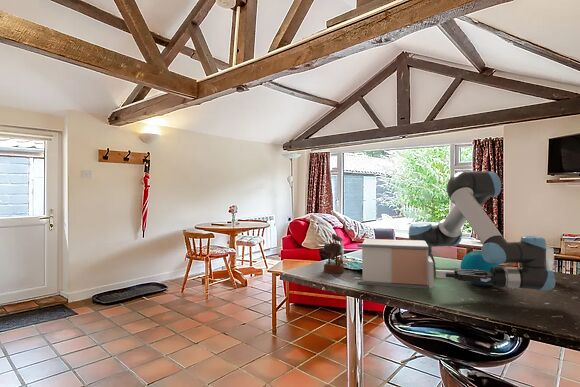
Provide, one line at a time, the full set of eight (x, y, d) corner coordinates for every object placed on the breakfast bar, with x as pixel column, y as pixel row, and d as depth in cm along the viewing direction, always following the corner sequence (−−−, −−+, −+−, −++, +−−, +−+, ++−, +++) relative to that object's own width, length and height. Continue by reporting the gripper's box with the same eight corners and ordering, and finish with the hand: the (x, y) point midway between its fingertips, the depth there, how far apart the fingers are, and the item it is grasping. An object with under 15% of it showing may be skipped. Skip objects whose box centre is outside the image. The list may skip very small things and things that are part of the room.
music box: (350, 270, 176) (348, 233, 175) (340, 277, 168) (338, 237, 166) (325, 266, 186) (323, 231, 184) (315, 272, 177) (312, 235, 175)
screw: (338, 264, 190) (337, 263, 195) (347, 264, 191) (345, 262, 195) (338, 242, 190) (336, 240, 195) (346, 241, 190) (345, 240, 195)
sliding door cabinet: (357, 284, 152) (357, 244, 151) (361, 274, 169) (360, 238, 168) (429, 288, 143) (428, 246, 143) (425, 278, 160) (424, 240, 160)
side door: (392, 291, 136) (391, 254, 135) (392, 282, 149) (391, 248, 149) (433, 294, 131) (433, 255, 131) (429, 284, 144) (429, 249, 144)
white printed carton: (554, 279, 154) (554, 247, 154) (553, 282, 149) (553, 249, 149) (536, 277, 159) (536, 245, 159) (534, 280, 154) (533, 247, 154)
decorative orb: (457, 286, 146) (457, 252, 146) (463, 278, 158) (463, 246, 158) (497, 292, 137) (497, 255, 137) (501, 283, 149) (501, 250, 149)
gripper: (509, 292, 120) (438, 287, 127) (498, 282, 133) (434, 278, 140) (509, 271, 120) (438, 268, 127) (498, 263, 133) (434, 260, 140)
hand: (436, 273), depth 133 cm, fingers closed
